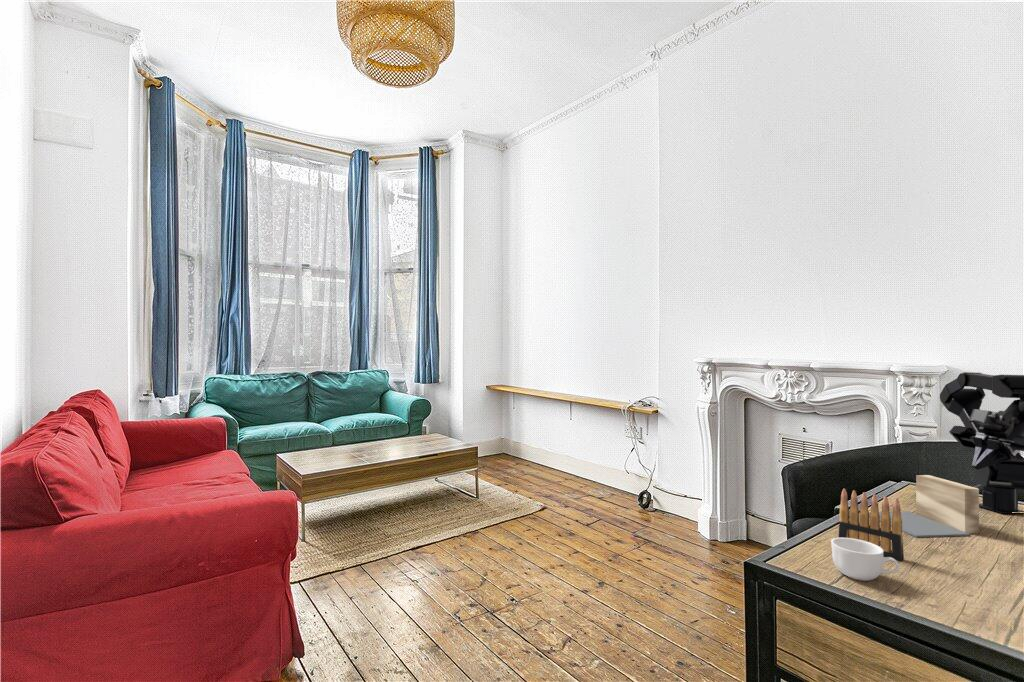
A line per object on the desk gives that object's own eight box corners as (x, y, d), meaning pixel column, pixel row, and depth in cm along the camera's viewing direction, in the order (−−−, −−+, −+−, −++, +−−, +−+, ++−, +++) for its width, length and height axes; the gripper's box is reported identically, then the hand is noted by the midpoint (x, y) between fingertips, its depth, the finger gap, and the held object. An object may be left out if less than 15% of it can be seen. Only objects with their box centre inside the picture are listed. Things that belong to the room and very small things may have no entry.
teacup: (828, 576, 89) (828, 546, 89) (833, 562, 95) (833, 534, 95) (899, 593, 83) (899, 561, 83) (899, 577, 89) (899, 547, 89)
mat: (909, 513, 124) (909, 511, 124) (970, 535, 109) (969, 534, 109) (861, 514, 123) (861, 512, 123) (916, 537, 108) (916, 535, 108)
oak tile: (929, 515, 123) (928, 475, 123) (979, 533, 111) (978, 488, 111) (916, 515, 123) (916, 475, 123) (965, 533, 111) (964, 489, 111)
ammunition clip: (837, 545, 103) (837, 488, 103) (840, 543, 104) (840, 486, 105) (902, 562, 95) (902, 500, 95) (903, 559, 96) (903, 498, 97)
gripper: (955, 394, 128) (916, 437, 126) (1039, 402, 109) (994, 452, 108) (983, 424, 128) (944, 467, 127) (1070, 437, 110) (1026, 488, 109)
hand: (974, 468), depth 118 cm, fingers closed
